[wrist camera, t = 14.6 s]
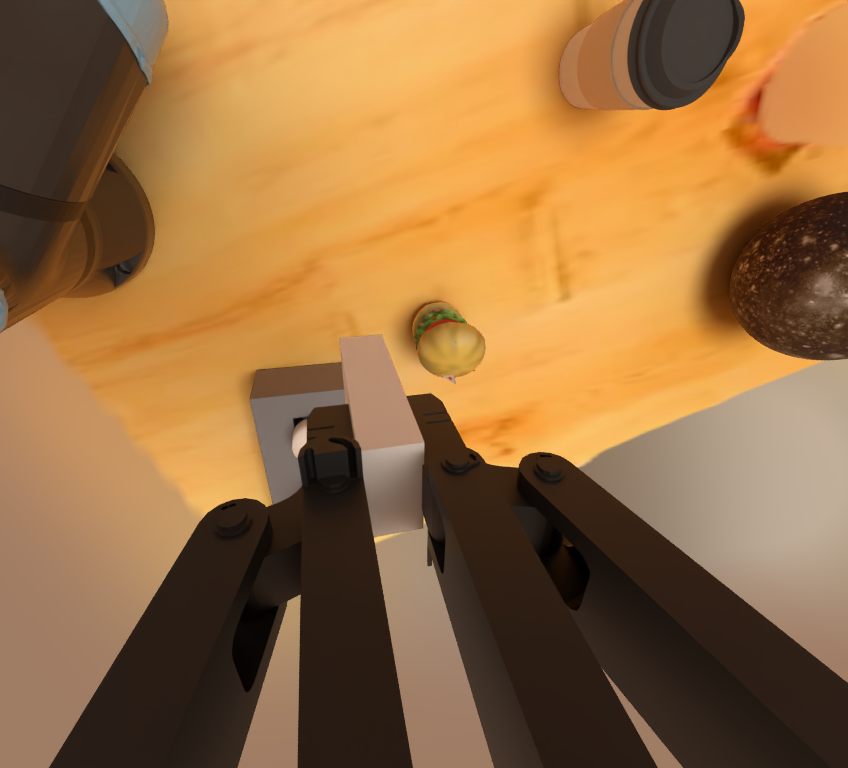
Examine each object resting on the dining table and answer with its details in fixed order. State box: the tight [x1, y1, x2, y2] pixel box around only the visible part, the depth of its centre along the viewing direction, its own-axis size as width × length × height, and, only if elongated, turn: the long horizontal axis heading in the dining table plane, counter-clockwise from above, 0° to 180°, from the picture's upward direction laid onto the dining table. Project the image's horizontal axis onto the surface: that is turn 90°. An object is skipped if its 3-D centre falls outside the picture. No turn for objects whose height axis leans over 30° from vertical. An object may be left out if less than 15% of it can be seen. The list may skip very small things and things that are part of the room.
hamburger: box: [412, 302, 485, 384], centre depth 48 cm, size 8×7×12 cm
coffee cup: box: [559, 0, 745, 110], centre depth 37 cm, size 9×9×15 cm
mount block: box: [250, 362, 345, 504], centre depth 55 cm, size 12×26×7 cm, turn 179°
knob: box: [292, 417, 307, 458], centre depth 49 cm, size 4×4×10 cm
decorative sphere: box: [729, 192, 848, 360], centre depth 52 cm, size 20×20×20 cm
